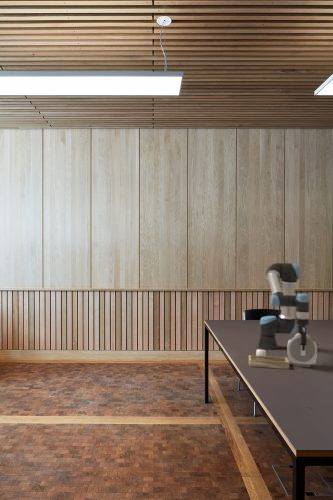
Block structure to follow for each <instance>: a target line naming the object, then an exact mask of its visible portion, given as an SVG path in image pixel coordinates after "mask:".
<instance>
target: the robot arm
mask: <svg viewBox="0 0 333 500" xmlns="http://www.w3.org/2000/svg"><path fill="white" fill-rule="evenodd" d="M300 271H301V270H300V267H299V265H298V264H297V263H294V262H293V263H292V262H276V263H275V262H274V263H272V264H271V265H269V266H268V268H267V269H266V272H265V277H266V280H267V281H268V284H269V287H270V291H271V295H270V298H269V299H270V300H269V301H270V306H272V307H277V308H278V307H281V309H280V311H281V312H280V314H279V315H278V318H277V317H276V316H275V315H266V316H262V317H261V318H260V321H259V339H258V341H257V346H256V347H257V348H259V349H263V350H276V349H278V347H279V345H278V341H277V336H276V335H277V334H278V335H279V334H280V335H294V334H296V332H297V328H298V333H300V335H301V344H300V345H301V356H305V351H306V334H307V327H306V326H309V324H310V323H309V321H310V320H309V318H310V311H309V310H310V295H309V293H307V294H306V293H297V294H296V295H295V288H296V287H295V286H296V284H297V282H298V280H300V279H301V272H300ZM281 283H282V284H281ZM294 308H296V312H295V315H296V317H295V315H294ZM298 333H297V334H298Z"/></svg>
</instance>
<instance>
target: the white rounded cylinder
mask: <svg viewBox="0 0 333 500" xmlns="http://www.w3.org/2000/svg"><path fill="white" fill-rule="evenodd" d="M255 350H256V351H255V352H256V353H255V356H267V352H266V350H267V349H263V348H259V349H258V348H257V349H255Z"/></svg>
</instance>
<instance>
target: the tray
mask: <svg viewBox="0 0 333 500" xmlns="http://www.w3.org/2000/svg"><path fill="white" fill-rule="evenodd" d="M248 365H249V367H250V368H251V367H255V368H269V369H270V368H271V369H285V370H286V369H287V370H290V362H289V361H288V356H287V357H286V356H285V357H284V356H283V357H282V356H269V355H268V356H267V355H266V356H256V355H251V354H249V355H248Z"/></svg>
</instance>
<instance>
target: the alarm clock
mask: <svg viewBox="0 0 333 500" xmlns="http://www.w3.org/2000/svg"><path fill="white" fill-rule="evenodd" d="M294 334H295V335H294V336H293V337H292V338H291V339H288V342H287V346H286V347H287V348H286V349H287V350H286V352H287V353H286V354H287V359H288V361H289V363H292V366H294V367H303V368H311V365H315V364H316V363H317V356H318V346H317V344H316V341H313V339H312V338H311V337H310V335H309V334H307V333H306V351H305V356H301V345H300V344H301V335H300V333H294Z"/></svg>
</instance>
